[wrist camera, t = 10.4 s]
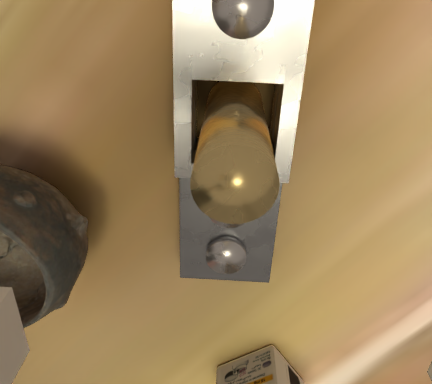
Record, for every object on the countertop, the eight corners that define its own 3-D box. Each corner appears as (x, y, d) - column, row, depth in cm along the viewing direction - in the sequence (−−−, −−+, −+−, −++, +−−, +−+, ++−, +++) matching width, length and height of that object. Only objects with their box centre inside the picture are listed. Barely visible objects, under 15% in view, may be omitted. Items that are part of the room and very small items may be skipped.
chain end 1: (182, 150, 34) (173, 182, 29) (181, -113, 25) (168, -136, 20) (281, 155, 34) (289, 188, 28) (314, -108, 25) (336, -129, 20)
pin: (207, 75, 31) (190, 142, 19) (264, 78, 31) (284, 147, 18) (206, 129, 33) (189, 221, 21) (259, 132, 33) (274, 226, 21)
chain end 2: (183, 261, 40) (179, 283, 37) (182, 46, 30) (176, 54, 27) (267, 266, 40) (269, 288, 37) (294, 51, 30) (300, 59, 27)
